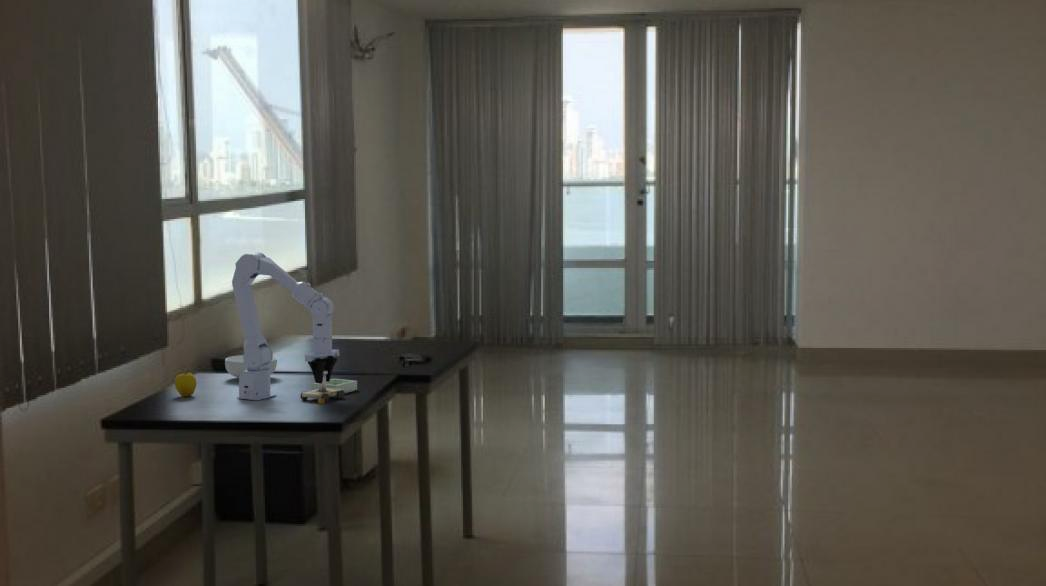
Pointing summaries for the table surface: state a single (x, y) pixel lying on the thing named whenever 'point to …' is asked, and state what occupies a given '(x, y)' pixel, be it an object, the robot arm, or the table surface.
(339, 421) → the table surface
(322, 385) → the stop pin
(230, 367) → the cereal bowl
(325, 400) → the toy car
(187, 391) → the apple
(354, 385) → the tray
